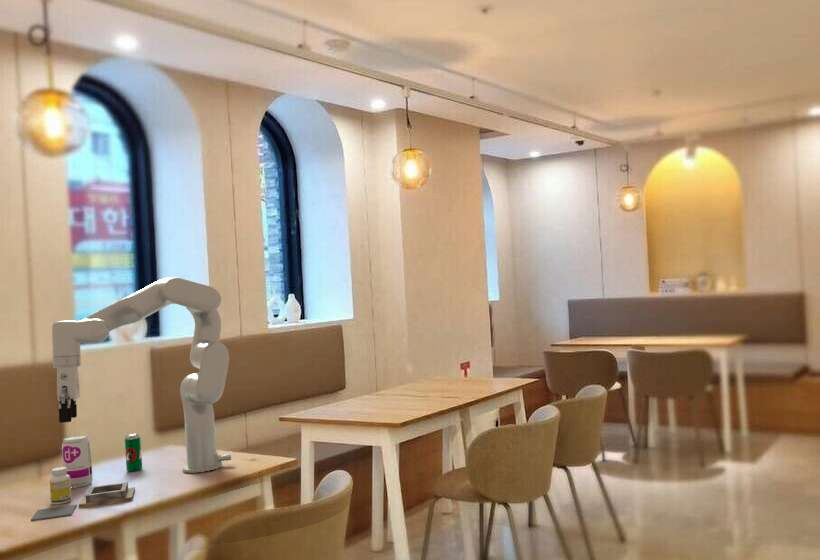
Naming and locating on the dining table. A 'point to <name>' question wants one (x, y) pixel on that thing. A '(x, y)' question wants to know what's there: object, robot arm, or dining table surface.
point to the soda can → (133, 453)
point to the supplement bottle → (60, 486)
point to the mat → (54, 512)
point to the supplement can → (77, 460)
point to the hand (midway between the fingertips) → (68, 419)
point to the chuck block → (107, 494)
